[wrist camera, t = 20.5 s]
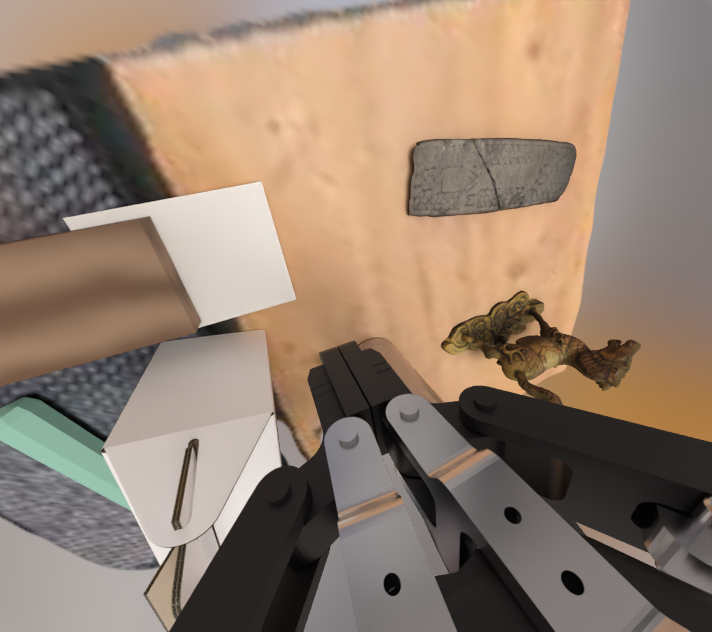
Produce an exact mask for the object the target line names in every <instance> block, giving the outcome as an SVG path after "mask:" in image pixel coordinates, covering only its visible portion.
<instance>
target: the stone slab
mask: <svg viewBox="0 0 712 632" xmlns="http://www.w3.org/2000/svg"><path fill="white" fill-rule="evenodd" d="M417 144H419V145H417V146H416V147H415V149H414V152H413V161H414V173H413V176H412V179H411V195H410V198H411V199H410V202H409V210H410V213H409V214H408V215H413V216H430V217H439V216H454V215H468V214H481V213H489V212H495V211H498V210H507V209H514V208H520V207H527V206H532V205H537V204H543V203H548V202H555V201H557V200H558V199H559V198H560V196H561V195H562V194H563V192H564V191H565V189H566V187H567V185H568V183H569V180H570V176H571V174H572V171H573V168H574V164H575V160H576V149H575V146H574V145H573V144H571V143H567V142H558V141H551V140H541V139H537V140H536V139H534V140H533V139H517V138H481V139H474V138H472V139H431V140H425V141H420V142H417Z"/></svg>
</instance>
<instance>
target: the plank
mask: <svg viewBox="0 0 712 632" xmlns="http://www.w3.org/2000/svg"><path fill="white" fill-rule="evenodd" d="M200 323H201V320H200V317H199V315H198V313H197V311H196V309H195V307H194V305H193V303H192V301H191V299H190V297H189V295H188V293H187V291H186V289H185V287H184V285H183V283H182V281H181V279H180V277H179V275H178V273H177V271H176V269H175V266H174V264H173V262H172V260H171V258H170V256H169V254H168V252H167V250H166V248H165V246H164V244H163V242H162V240H161V238H160V236H159V234H158V232H157V230H156V228H155V226H154V224H153V222H152V220H151V218H150V216H147V217H142V218H137V219H131V220H126V221H120V222H115V223H110V224H104V225H99V226H93V227H88V228H83V229H77V230H72V231H66V232H61V233H56V234H50V235H45V236H39V237H34V238H29V239H23V240H18V241H12V242H7V243H2V244H0V386H3V385H6V384H10V383H14V382H17V381H21V380H25V379H28V378H32V377H36V376H39V375H43V374H47V373H50V372H54V371H58V370H61V369H65V368H69V367H72V366H76V365H80V364H83V363H87V362H91V361H94V360H98V359H102V358H105V357H109V356H113V355H116V354H120V353H124V352H127V351H131V350H135V349H138V348H142V347H146V346H149V345H153V344H157V343H160V342H164V341H168V340H171V339H175V338H179V337H182V336H186V335H190V334H193V333H196V332H197V330H198V327H199V325H200Z"/></svg>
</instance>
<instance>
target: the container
mask: <svg viewBox="0 0 712 632" xmlns="http://www.w3.org/2000/svg"><path fill="white" fill-rule="evenodd" d="M0 441H2V442H4V443H6V444H8V445H10V446H12V447H13V448H15V449H17V450H19V451H21V452H23V453H25V454H26V455H28V456H30V457H32V458H34V459H36V460H38V461H39V462H41V463H43V464H45V465H47V466H49V467H51V468H52V469H54V470H56V471H58V472H60V473H62V474H64V475H65V476H67V477H69V478H71V479H73V480H75V481H77V482H78V483H80V484H82V485H84V486H86V487H88V488H90V489H91V490H93V491H95V492H97V493H99V494H101V495H103V496H104V497H106V498H108V499H110V500H112V501H114V502H116V503H117V504H119V505H121V506H123V507H125V508H127V509H129V510H130V511H131V509H130V507H129V505H128V503H127V501H126V499H125V497H124V495H123V493H122V491H121V490H120V488H119V486H118V484H117V482H116V480H115V478H114V476H113V474H112V472H111V470H110V468H109V467H108V465H107V463H106V461H105V459H104V457H103V455H102V453H101V449H102V447H103V445H104V443H105V442H103V441H102V440H100V439H98V438H97V437H95V436H94V435H92V434H91V433H89V432H88V431H86V430H85V429H83V428H82V427H80V426H79V425H77V424H76V423H74V422H73V421H71V420H69V419H68V418H66V417H65V416H63V415H62V414H60V413H59V412H57V411H56V410H54V409H53V408H51V407H50V406H48V405H47V404H45V403H44V402H42V401H41V400H38V399H34V398H29V397H22V398H20V399H18V400H16V401H14V402H12V403H10V404H8V405H6V406H4V407H2V408H0Z"/></svg>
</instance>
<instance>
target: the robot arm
mask: <svg viewBox="0 0 712 632" xmlns="http://www.w3.org/2000/svg"><path fill="white" fill-rule="evenodd" d="M319 355H320V359H321V363H322V365H321V366H318V367H315V368H312V369H310V372H309V376H308V383H309V386H310V389H311V392H312V396H313V399H314V402H315V406H316V409H317V412H318V415H319V419H320V422H321V425H322V429H323V441H322V444H321V446H320V448H319V450H318V451H317V453H316V454H315V455H314V456H313V457H312V458H311V459H310V460H308V461H307V462H306V463H305V464H303V465H302V466H301V467H300V468H297V467H294V466H282V467H278V468H276V469H274V470H272V471H271V472H269V473H268V474H266V475H265V476H264V477H263V478H262V479H261V481H260V482H259V483H258V485H257V486H256V488H255V489H254V491H253V493H252V494H251V496H250V498H249V499H248V501H247V503H246V504H245V506H244V508H243V509H242V511H241V513H240V514H239V516H238V518H237V519H236V521H235V523H234V524H233V526H232V528H231V529H230V531H229V533H228V534H227V536H226V538H225V539H224V541H223V543H222V544H221V546H220V548H219V549H218V551H217V553H216V554H215V556H214V558H213V559H212V561H211V563H210V564H209V566H208V568H207V569H206V571H205V573H204V574H203V576H202V578H201V579H200V581H199V583H198V584H197V586H196V588H195V589H194V591H193V593H192V594H191V596H190V598H189V599H188V601H187V602H186V604H185V606H184V607H183V609H182V611H181V612H180V614H179V616H178V617H177V619H176V621H175V622H174V624H173V626H172V627H171V629H170V631H169V632H303V631H304V628H305V624H306V622H307V619H308V615H309V613H310V610H311V607H312V603H313V600H314V597H315V594H316V591H317V588H318V584H319V582H320V579H321V576H322V572H323V569H324V567H325V563H326V560H327V557H328V554H329V550H330V546H331V544H333V542H334V541H335V540H336V539H337V538H338V537H339V536H340V541H341V547H342V552H343V557H344V563H345V568H346V573H347V579H348V584H349V589H350V595H351V600H352V605H353V611H354V616H355V621H356V626H357V632H712V442H708V441H704V440H700V439H696V438H692V437H688V436H684V435H679V434H676V433H672V432H667V431H664V430H660V429H656V428H652V427H648V426H644V425H639V424H636V423H632V422H628V421H624V420H620V419H616V418H611V417H608V416H604V415H600V414H595V413H592V412H587V411H584V410H580V409H576V408H572V407H567V406H564V405H560V404H556V403H552V402H548V401H544V400H540V399H536V398H531V397H527V396H524V395H520V394H516V393H512V392H508V391H503V390H499V389H495V388H491V387H487V386H472V387H469V388H467V389H465V390H464V391H463V392H462V393H461V394H460V397H459V401H454V402H444V401H443V400H442V399H441V398H440V397H439V396H438V395H437V394H436V392H435V391H434V390H433V389H432V388H431V387H430V386H429V385H428V384H427V382H426V381H425V380H424V379H423V378H422V377H421V376H420V375H419V374H418V372H417V371H416V370H415V369H414V368H413V367H412V366H411V365H410V363H409V362H408V361H407V360H406V359H405V358H404V357H403V356H402V354H401V353H400V352H399V351H398V350H397V349H396V348H395V347H394V346H393V344H392V343H390V342H389V341H388V340H385V339H382V338H374V339H370V340H367V341H365V342H363V343H362V344H360V345H359V346H358V345H357V343H356V342H355V341H351V342H348V343H346V344H343V345H340V346H337V347H334V348H331V349H328V350H325V351H322V352H319ZM387 453H389V454H390V456H391V458H392V460H393V462H394V466H395V472H396V474H397V477H398V478H399V480H400V482H401V483H402V485H403V486H404V488H405V490H406V491H407V493H408V495H409V496H410V498H411V500H412V501H413V503H414V504H415V506H416V508H417V510H418V511H419V513H420V514H421V516H422V518H423V519H424V521H425V524H426V526H427V528H428V530H429V532H430V534H431V537H432V539H433V541H434V543H435V546H436V548H437V550H438V552H439V554H440V556H441V558H442V560H443V562H444V564H445V566H446V568H447V570H448V572H449V574H445V575H439V576H434V574H433V572H432V569H431V567H430V564H429V562H428V559H427V557H426V555H425V552H424V550H423V547H422V545H421V542H420V540H419V537H418V535H417V533H416V530H415V528H414V525H413V523H412V520H411V518H410V515H409V513H408V511H407V508H406V506H405V504H404V502H403V499H402V498H401V496H400V495H398V494H397V492H396V490H395V487H394V485H393V482H392V480H391V477H390V475H389V472H388V470H387V467H386V465H385V462H384V460H383V457H382V455H385V454H387ZM576 522H578V523H580V524H582V525H585V526H587V527H589V528H592V529H594V530H596V531H599V532H601V533H604V534H606V535H609V536H611V537H613V538H615V539H618V540H620V541H622V542H625V543H627V544H629V545H632V546H635V547H636V548H639V549H641V550H644V551H646V552H648V553H650V554H651V556H652V557H653V559H654V560H655V565H656V568H654V567H652V566H650V565H648V564H646V563H643V562H641V561H639V560H637V559H635V558H633V557H631V556H629V555H627V554H624V553H622V552H620V551H618V550H616V549H614V548H612V547H609V546H607V545H605V544H603V543H601V542H599V541H597V540H594V539H592V538H590V537H588V536H586V535H585V533H584V532H583V531H582V529H581V528H580V527H579V526H578V524H577V523H576Z"/></svg>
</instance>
